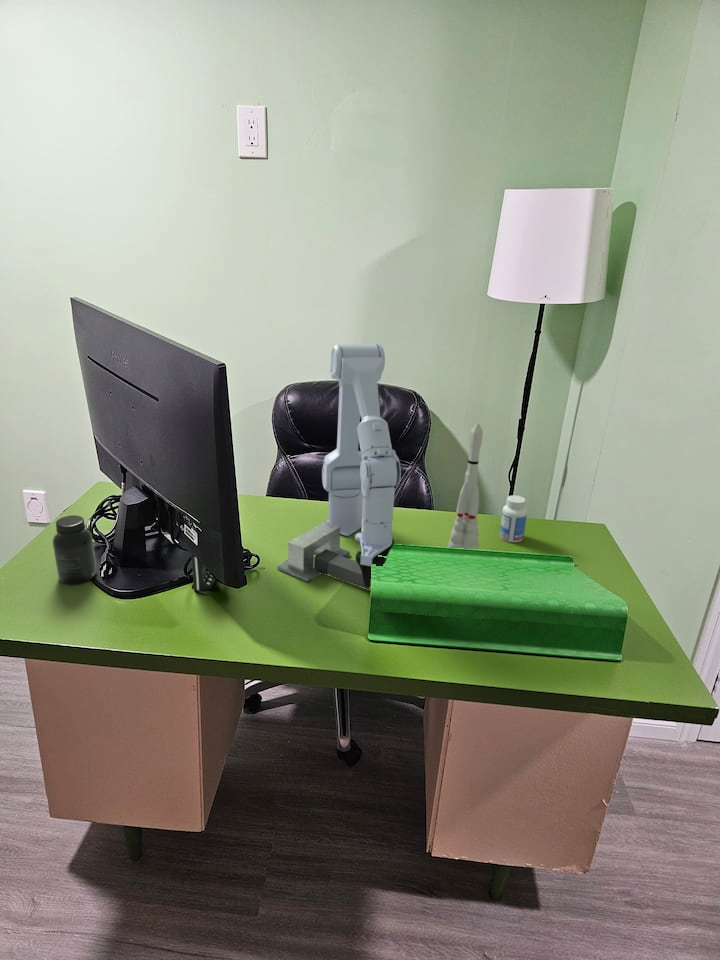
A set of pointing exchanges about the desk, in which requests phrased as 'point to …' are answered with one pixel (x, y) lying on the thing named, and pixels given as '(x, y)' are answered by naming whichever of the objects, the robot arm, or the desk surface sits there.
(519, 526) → the pill bottle
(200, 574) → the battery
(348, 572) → the plug
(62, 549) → the supplement bottle
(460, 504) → the rocket model
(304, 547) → the mounting bracket
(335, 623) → the desk surface
